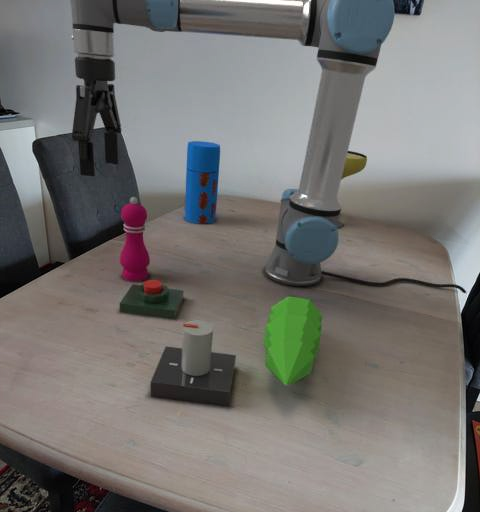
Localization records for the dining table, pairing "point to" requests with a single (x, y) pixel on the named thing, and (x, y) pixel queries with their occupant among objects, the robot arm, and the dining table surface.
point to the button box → (152, 302)
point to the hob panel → (193, 379)
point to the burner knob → (196, 347)
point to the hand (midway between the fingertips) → (100, 169)
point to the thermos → (201, 181)
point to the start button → (152, 287)
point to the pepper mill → (134, 242)
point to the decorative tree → (292, 339)
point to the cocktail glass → (353, 167)
